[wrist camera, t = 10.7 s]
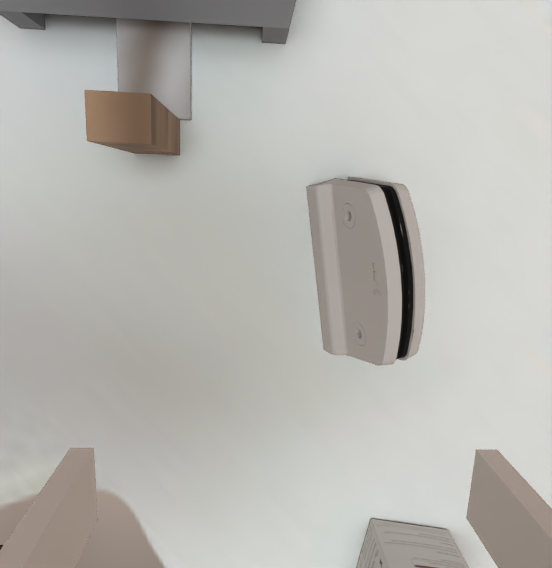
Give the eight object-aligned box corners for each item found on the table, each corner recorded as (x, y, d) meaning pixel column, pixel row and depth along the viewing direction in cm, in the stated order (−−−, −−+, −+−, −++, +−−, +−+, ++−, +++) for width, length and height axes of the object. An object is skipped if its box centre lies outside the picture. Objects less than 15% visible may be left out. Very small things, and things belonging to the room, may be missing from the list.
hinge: (305, 182, 42) (368, 175, 33) (350, 176, 44) (421, 168, 35) (324, 353, 46) (384, 390, 37) (364, 341, 47) (432, 374, 38)
